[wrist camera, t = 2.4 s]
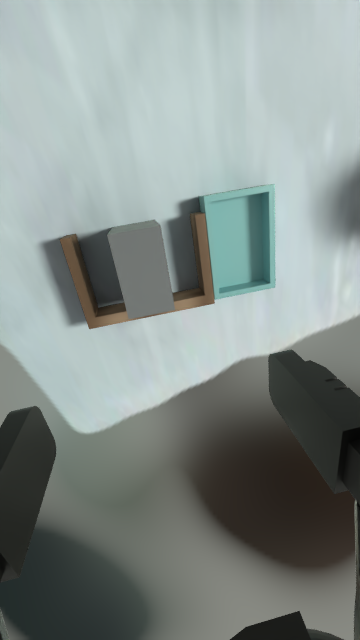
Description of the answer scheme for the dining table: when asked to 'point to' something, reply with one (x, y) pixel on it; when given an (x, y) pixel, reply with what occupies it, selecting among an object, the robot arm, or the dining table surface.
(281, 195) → the dining table surface
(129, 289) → the chamfered grey block
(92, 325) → the walnut bay
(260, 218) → the teal tray
